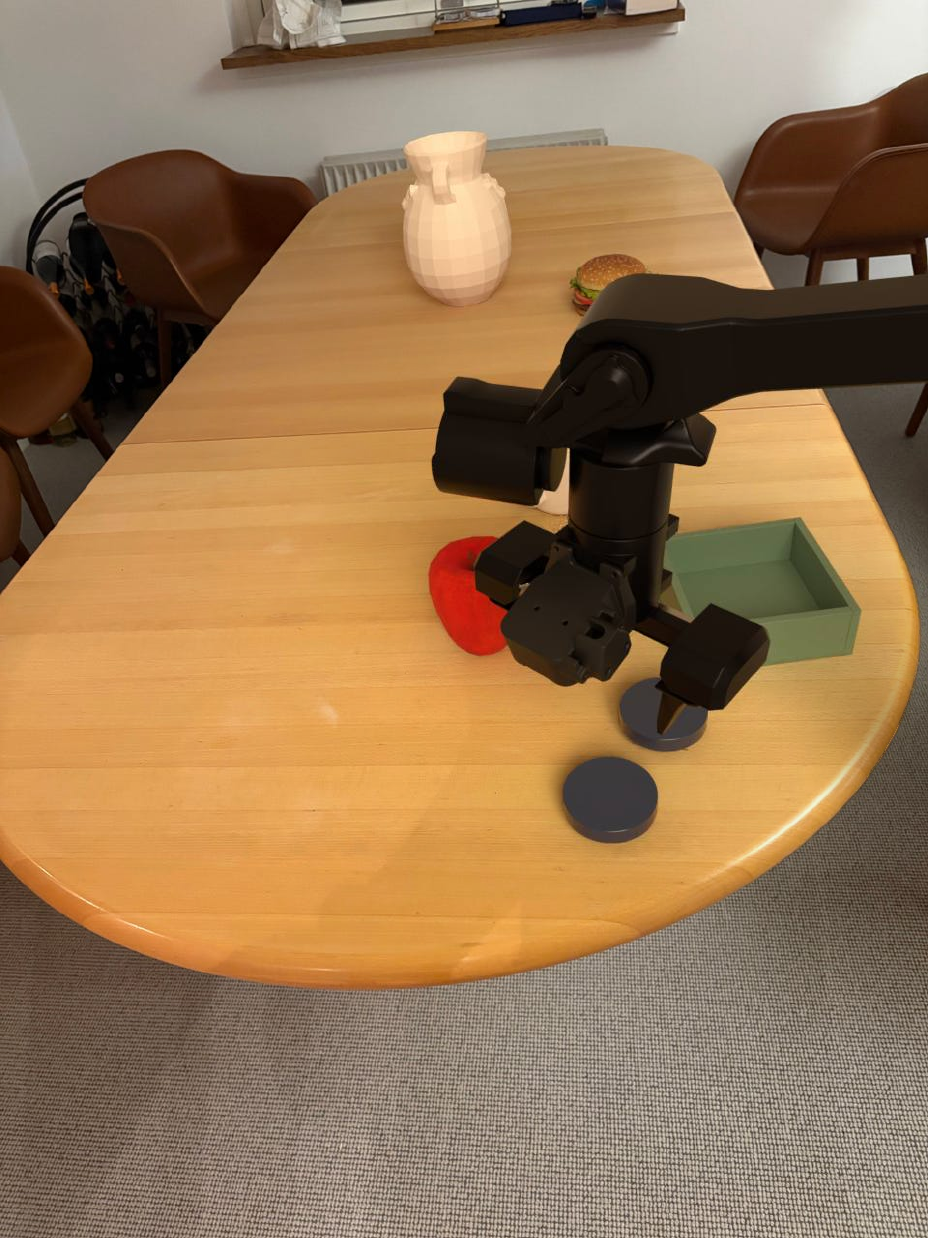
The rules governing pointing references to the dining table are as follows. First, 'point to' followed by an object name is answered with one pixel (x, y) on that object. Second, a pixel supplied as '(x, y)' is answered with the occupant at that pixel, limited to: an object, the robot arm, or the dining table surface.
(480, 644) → the apple
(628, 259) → the food
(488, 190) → the pitcher
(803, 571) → the tub
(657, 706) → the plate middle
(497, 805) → the dining table surface
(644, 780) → the dark round disc
